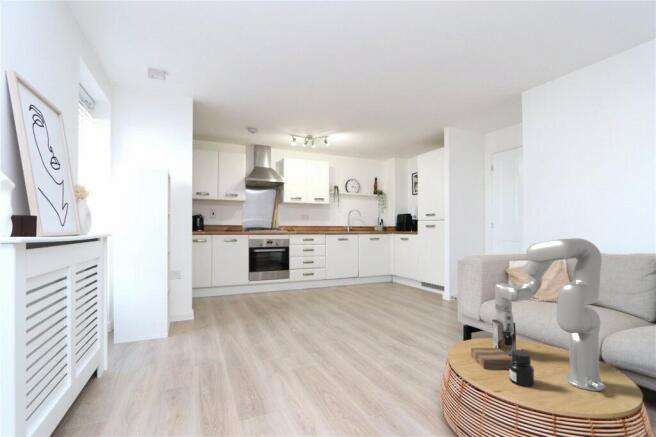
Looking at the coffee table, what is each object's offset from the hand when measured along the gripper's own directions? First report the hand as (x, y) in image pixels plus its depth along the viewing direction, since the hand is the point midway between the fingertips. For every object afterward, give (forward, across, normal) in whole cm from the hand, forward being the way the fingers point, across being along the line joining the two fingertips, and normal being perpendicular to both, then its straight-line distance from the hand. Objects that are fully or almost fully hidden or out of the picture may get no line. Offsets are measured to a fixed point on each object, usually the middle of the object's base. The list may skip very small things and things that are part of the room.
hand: (504, 341), depth 163 cm
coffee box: (+6, 0, 0) cm, 6 cm away
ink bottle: (+6, -31, +9) cm, 33 cm away
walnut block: (+5, -12, +12) cm, 18 cm away
